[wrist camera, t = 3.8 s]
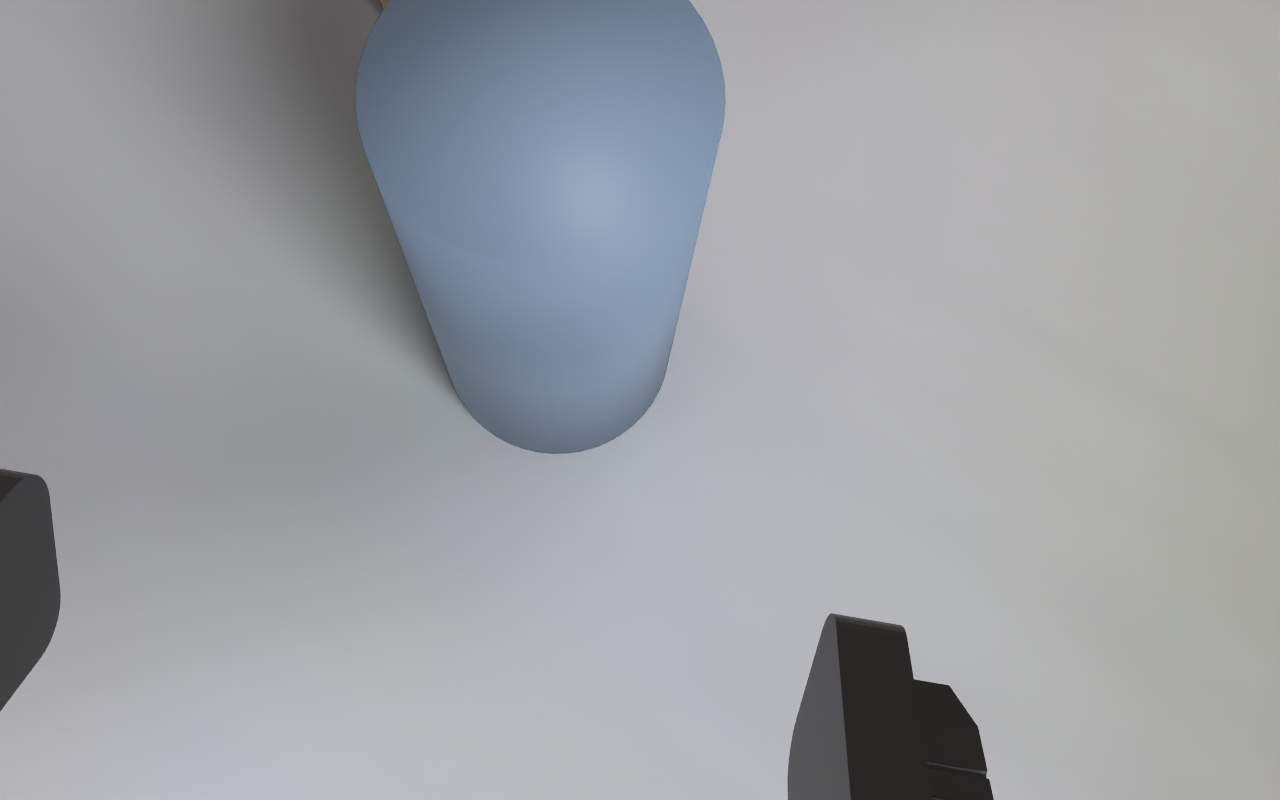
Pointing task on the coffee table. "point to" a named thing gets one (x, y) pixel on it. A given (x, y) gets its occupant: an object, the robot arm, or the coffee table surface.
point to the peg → (545, 196)
